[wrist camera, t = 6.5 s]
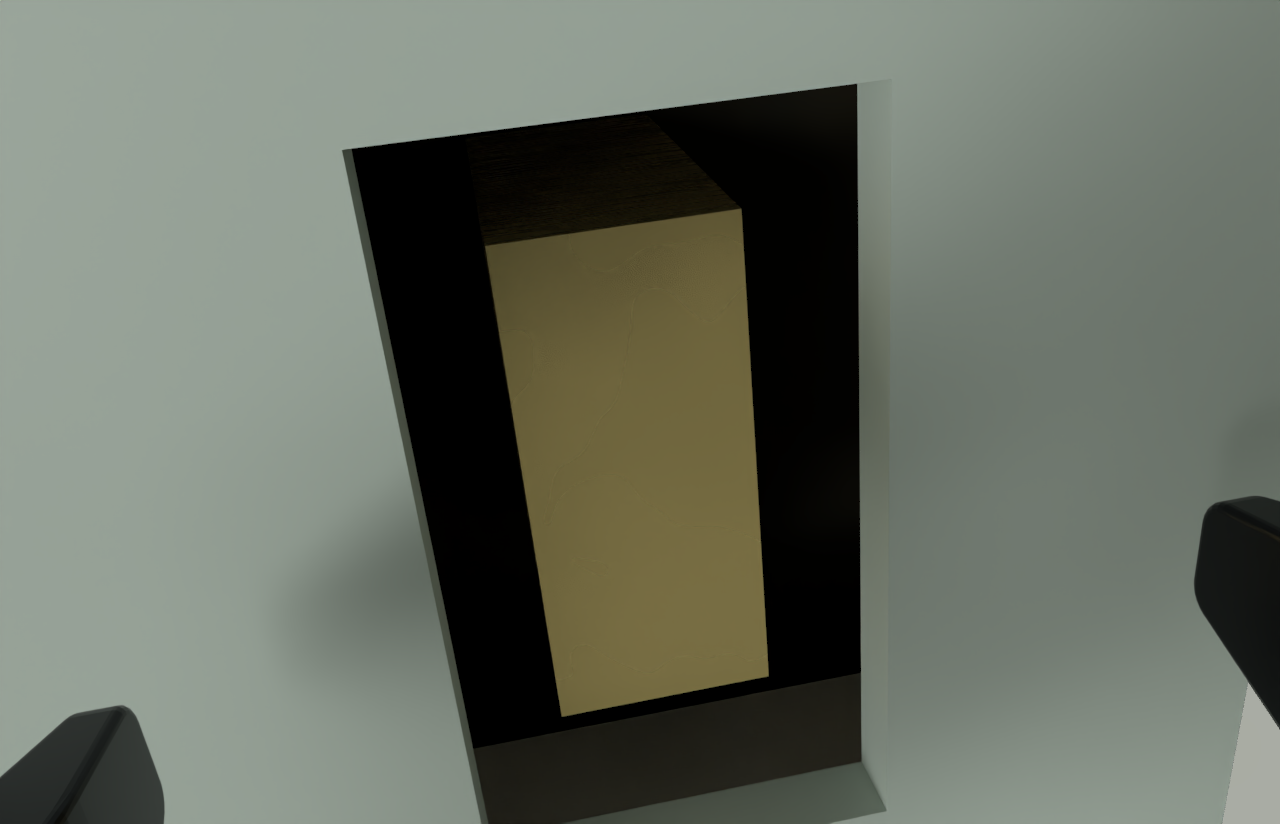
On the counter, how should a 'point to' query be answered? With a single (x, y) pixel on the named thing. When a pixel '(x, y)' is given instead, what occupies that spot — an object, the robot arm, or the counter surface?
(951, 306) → the box
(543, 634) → the counter surface
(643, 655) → the wood grain tall block
